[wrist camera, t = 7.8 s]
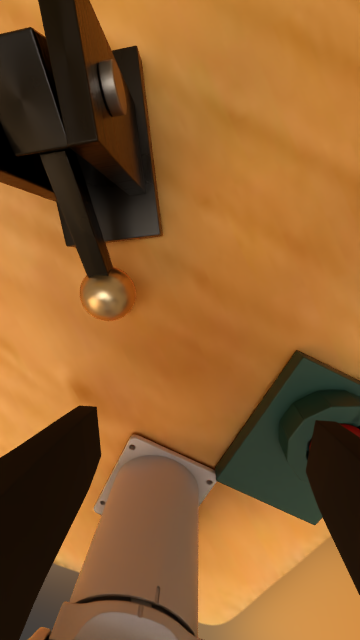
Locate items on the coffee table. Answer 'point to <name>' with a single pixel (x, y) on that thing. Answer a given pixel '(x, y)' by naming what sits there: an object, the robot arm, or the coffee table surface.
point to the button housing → (289, 435)
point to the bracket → (96, 125)
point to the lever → (57, 165)
